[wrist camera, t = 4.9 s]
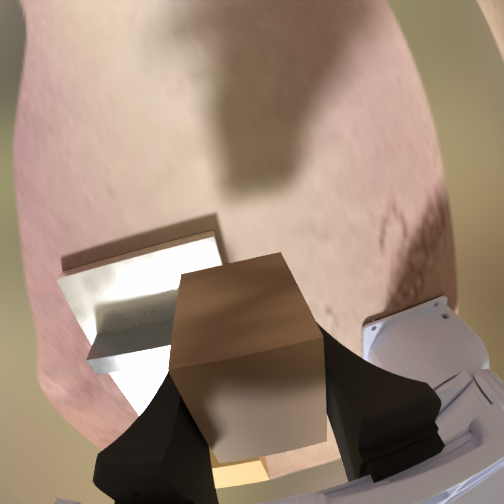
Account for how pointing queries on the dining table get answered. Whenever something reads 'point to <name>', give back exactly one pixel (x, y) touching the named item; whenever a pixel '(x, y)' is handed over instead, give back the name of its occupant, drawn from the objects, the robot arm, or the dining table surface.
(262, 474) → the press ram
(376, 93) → the dining table surface
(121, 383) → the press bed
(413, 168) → the dining table surface
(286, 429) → the brown wooden block
